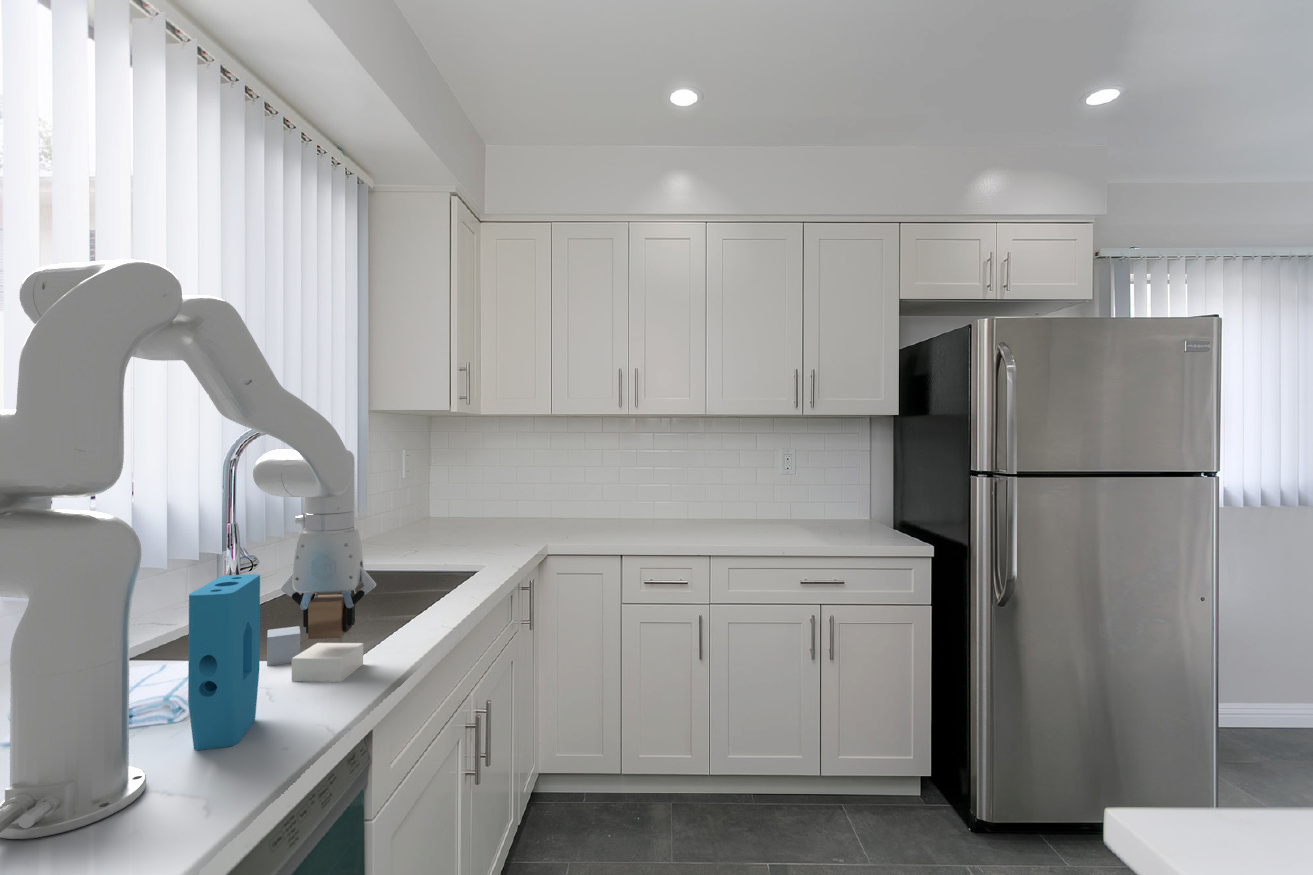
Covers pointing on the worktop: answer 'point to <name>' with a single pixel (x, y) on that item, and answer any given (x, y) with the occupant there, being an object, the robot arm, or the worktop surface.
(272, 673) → the worktop surface
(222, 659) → the block
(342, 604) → the walnut block
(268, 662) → the slate cube
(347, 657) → the limestone block
